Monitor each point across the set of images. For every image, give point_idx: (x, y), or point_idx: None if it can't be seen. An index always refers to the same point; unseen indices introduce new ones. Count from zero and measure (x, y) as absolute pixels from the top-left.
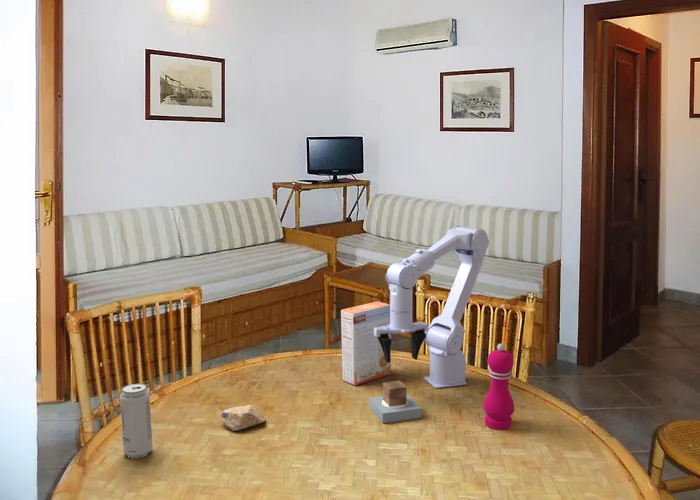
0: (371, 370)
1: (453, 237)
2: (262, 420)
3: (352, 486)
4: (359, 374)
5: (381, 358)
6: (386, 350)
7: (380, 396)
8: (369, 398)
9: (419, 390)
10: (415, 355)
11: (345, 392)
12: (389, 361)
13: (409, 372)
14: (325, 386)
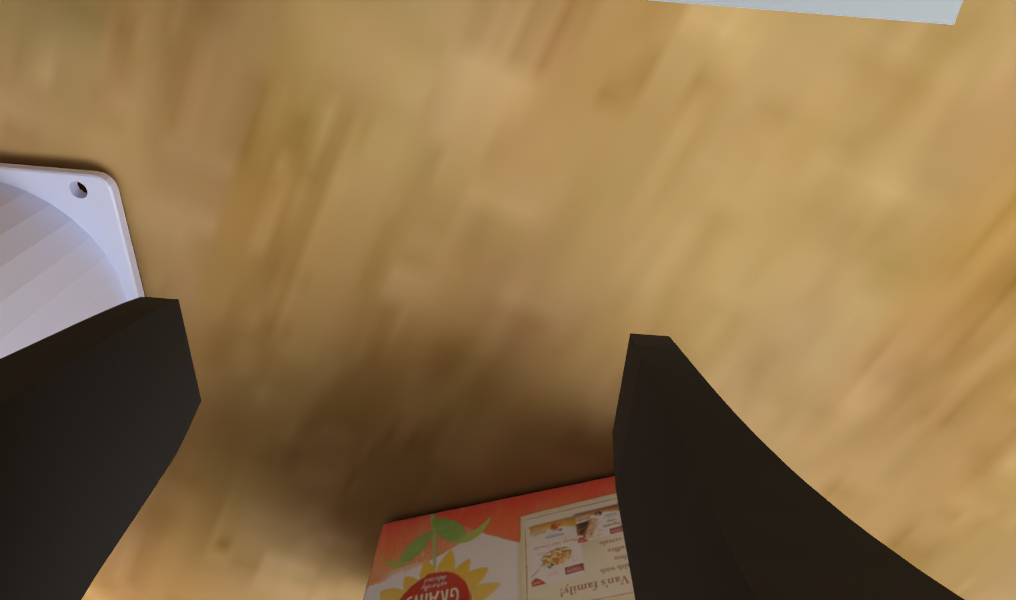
0: (567, 547)
1: None
2: None
3: None
4: None
5: None
6: (803, 480)
7: (813, 12)
8: (957, 11)
9: (268, 198)
10: (132, 322)
11: (862, 382)
12: (646, 341)
13: (242, 506)
14: (917, 514)
